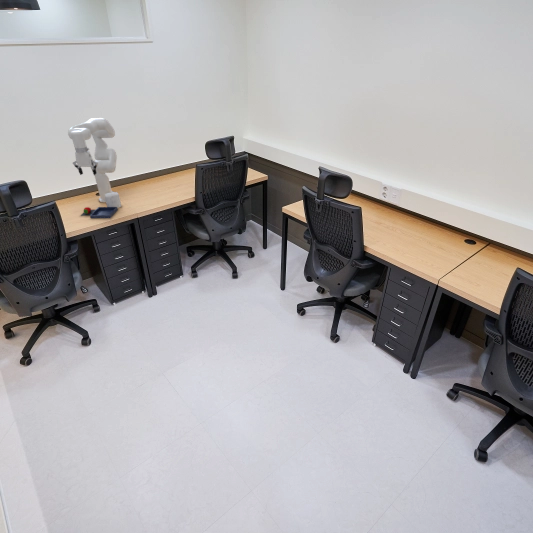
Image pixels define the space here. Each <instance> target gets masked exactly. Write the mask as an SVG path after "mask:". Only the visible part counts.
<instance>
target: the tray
mask: <svg viewBox="0 0 533 533" xmlns="http://www.w3.org/2000/svg"><path fill="white" fill-rule="evenodd" d="M118 209H119V208H117V207H107V206H98V207H96V208H95V209H94V210H95V211H94V212H93V213H92V214H91V215H90V216H89V218H90V219H111V218H112V217H113V216H114V215H115V214H116V212H117V211H118Z"/></svg>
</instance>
